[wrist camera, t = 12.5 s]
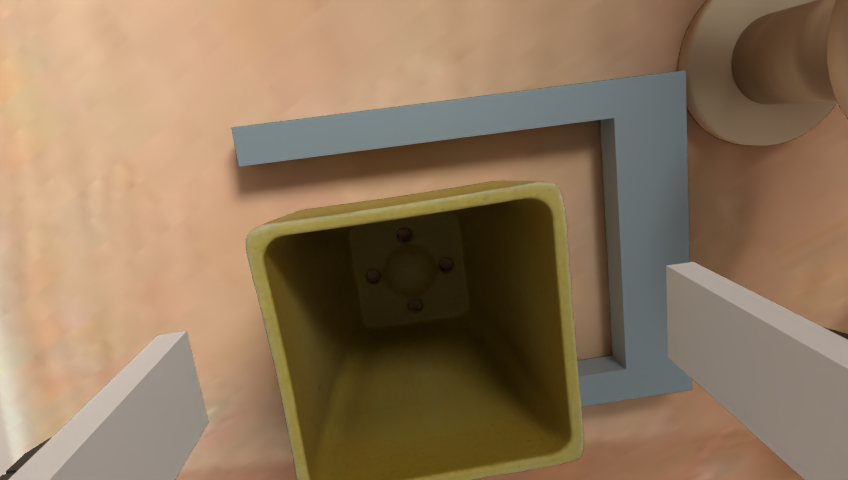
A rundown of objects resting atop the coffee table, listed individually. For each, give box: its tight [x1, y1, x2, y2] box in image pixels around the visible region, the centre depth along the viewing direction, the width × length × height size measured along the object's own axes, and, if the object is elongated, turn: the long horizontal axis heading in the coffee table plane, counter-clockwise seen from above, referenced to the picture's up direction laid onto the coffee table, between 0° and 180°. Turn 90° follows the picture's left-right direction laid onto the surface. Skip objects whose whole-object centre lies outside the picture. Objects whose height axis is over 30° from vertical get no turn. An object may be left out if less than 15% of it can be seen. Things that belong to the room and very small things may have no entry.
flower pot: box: [246, 181, 584, 480], centre depth 20 cm, size 9×9×9 cm
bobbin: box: [678, 0, 848, 146], centre depth 19 cm, size 7×7×9 cm
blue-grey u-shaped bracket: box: [231, 70, 692, 407], centre depth 24 cm, size 18×14×2 cm
